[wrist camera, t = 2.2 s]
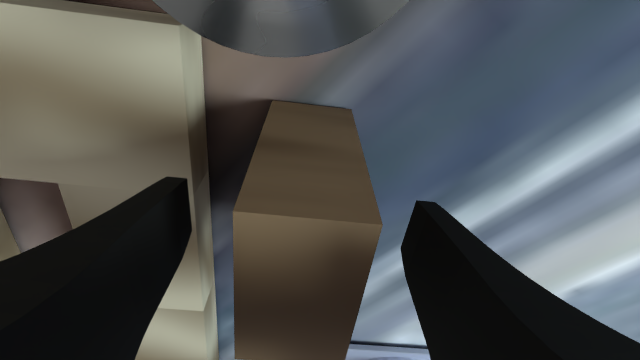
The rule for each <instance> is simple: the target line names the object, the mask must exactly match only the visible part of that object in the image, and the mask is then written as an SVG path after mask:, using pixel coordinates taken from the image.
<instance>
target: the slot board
mask: <svg viewBox="0 0 640 360" xmlns="http://www.w3.org/2000/svg"><path fill="white" fill-rule="evenodd" d="M167 176H168V177H179V178H187V181H188V192H189V202H190V213H191V223H192V232H191V235H190V239H189V242H188V245H187V248H186V250H185V253H184V256H183V259H182V261H181V263H180V265H179V267H178V269H177V271H176V273H175V275H174V277H173V279H172V281H171V283H170V285H169V287H168V289H167V291H166V293H165V295H164V297H163V299H162V301H161V302H160V304H159V306H158V308H157V310H156V312H155V314H154V316H153V318H152V320H151V322H150V324H149V326H148V329H147V331H146V333H145V335H144V337H143V340H142V342H141V345H140V347H139V350H138V353H137V355H136V358H135V360H219V352H218V334H217V316H216V297H215V279H214V261H213V243H212V225H211V207H210V189H209V171H208V153H207V135H206V116H205V98H204V80H203V62H202V44H201V35H199V34H197V33H196V32H194V31H192V30H191V29H189V28H188V27H186V26H185V25H183V24H181V23H180V22H178V21H177V20H176V19H174V18H173V17H172V16H170V15H169V14H163V13H156V12H148V11H141V10H133V9H125V8H118V7H110V6H103V5H95V4H87V3H80V2H72V1H65V0H0V178H8V179H18V180H29V181H40V182H50V183H58V186H59V189H60V192H61V195H62V198H63V201H64V204H65V207H66V210H67V213H68V216H69V219H70V222H71V225H72V229H75V228H77V227H79V226H81V225H82V224H84V223H86V222H88V221H90V220H92V219H94V218H95V217H97V216H99V215H101V214H103V213H105V212H107V211H108V210H110V209H112V208H114V207H115V206H117V205H119V204H120V203H122V202H124V201H125V200H127V199H129V198H131V197H132V196H134V195H136V194H137V193H139V192H141V191H142V190H144V189H145V188H147V187H149V186H150V185H152V184H154V183H156V182H157V181H159V180H161V179H163V178H165V177H167ZM18 254H20V250H19V248H18V246H17V244H16V241H15V239H14V237H13V235H12V233H11V230H10V228H9V226H8V224H7V222H6V219H5V217H4V215H3V213H2V210H1V208H0V261H2V260H5V259H8V258H10V257H13V256H15V255H18Z"/></svg>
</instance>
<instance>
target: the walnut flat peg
mask: <svg viewBox="0 0 640 360" xmlns="http://www.w3.org/2000/svg"><path fill="white" fill-rule="evenodd" d="M382 225H383V224H382V221H381V217H380V213H379V210H378V206H377V202H376V199H375V195H374V191H373V188H372V184H371V180H370V177H369V173H368V169H367V166H366V162H365V158H364V154H363V151H362V147H361V143H360V140H359V136H358V132H357V129H356V125H355V121H354V118H353V114H352V110H351V109H343V108H335V107H326V106H318V105H309V104H300V103H292V102H283V101H275V100H272V103H271V106H270V108H269V111H268V114H267V117H266V120H265V123H264V125H263V128H262V131H261V134H260V137H259V139H258V142H257V145H256V148H255V151H254V153H253V156H252V159H251V162H250V165H249V167H248V170H247V173H246V176H245V179H244V181H243V184H242V187H241V190H240V193H239V196H238V198H237V201H236V204H235V207H234V210H233V259H234V338H235V359H244V360H345V359H346V355H347V351H348V348H349V344H350V341H351V337H352V333H353V330H354V326H355V323H356V319H357V315H358V312H359V308H360V305H361V301H362V297H363V294H364V290H365V287H366V283H367V279H368V276H369V272H370V269H371V265H372V261H373V258H374V254H375V251H376V247H377V243H378V240H379V236H380V233H381V229H382Z"/></svg>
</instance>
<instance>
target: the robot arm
mask: <svg viewBox="0 0 640 360" xmlns="http://www.w3.org/2000/svg"><path fill="white" fill-rule="evenodd" d="M191 232H192V223H191V213H190V202H189V192H188V181H187V178H179V177H168V176H167V177H165V178H163V179H161V180H159V181H157V182H156V183H154V184H152V185H150V186H149V187H147V188H145V189H144V190H142V191H141V192H139V193H137V194H136V195H134V196H132V197H131V198H129V199H127V200H125V201H124V202H122V203H120V204H119V205H117V206H115V207H114V208H112V209H110V210H108V211H107V212H105V213H103V214H101V215H99V216H97V217H95V218H94V219H92V220H90V221H88V222H86V223H84V224H82V225H81V226H79V227H77V228H75V229H73V230H71V231H69V232H67V233H65V234H63V235H61V236H59V237H57V238H54V239H52V240H50V241H48V242H46V243H43V244H41V245H39V246H37V247H34V248H32V249H30V250H28V251H25V252H23V253H20V254H18V255H15V256H13V257H10V258H8V259H5V260H2V261H0V360H135V358H136V355H137V353H138V350H139V347H140V345H141V342H142V340H143V337H144V335H145V333H146V331H147V329H148V326H149V324H150V322H151V320H152V318H153V316H154V314H155V312H156V310H157V308H158V306H159V304H160V302H161V301H162V299H163V297H164V295H165V293H166V291H167V289H168V287H169V285H170V283H171V281H172V279H173V277H174V275H175V273H176V271H177V269H178V267H179V265H180V263H181V261H182V259H183V256H184V253H185V250H186V248H187V245H188V242H189V239H190V235H191ZM401 254H402V260H403V266H404V272H405V277H406V280H407V283H408V287H409V290H410V293H411V296H412V300H413V303H414V306H415V309H416V312H417V315H418V318H419V321H420V325H421V328H422V331H423V334H424V337H425V340H426V344H427V347H428V349H419V348H404V347H389V346H373V345H358V344H349V348H348V351H347V355H346V359H345V360H640V343H638V342H636V341H634V340H632V339H630V338H628V337H627V336H625V335H623V334H621V333H619V332H617V331H615V330H613V329H612V328H610V327H608V326H606V325H604V324H602V323H601V322H599V321H597V320H595V319H594V318H592V317H590V316H588V315H587V314H585V313H583V312H582V311H580V310H578V309H577V308H575V307H573V306H571V305H570V304H568V303H566V302H565V301H563V300H562V299H560V298H558V297H557V296H555V295H554V294H552V293H551V292H549V291H548V290H546V289H545V288H543V287H542V286H540V285H539V284H537V283H536V282H534V281H533V280H531V279H530V278H528V277H527V276H526V275H524V274H523V273H521V272H520V271H519V270H517V269H516V268H515V267H513V266H512V265H511V264H509V263H508V262H507V261H505V260H504V259H503V258H502V257H500V256H499V255H498V254H496V253H495V252H494V251H493V250H491V249H490V248H489V247H488V246H487V245H485V244H484V243H483V242H482V241H481V240H479V239H478V238H477V237H476V236H475V235H473V234H472V233H471V232H470V231H469V230H468V229H466V228H465V227H464V226H463V225H462V224H461V223H460V222H458V221H457V220H456V219H455V218H454V217H453V216H451V215H450V214H449V213H448V212H447V211H446V210H444V209H443V208H442V207H441V206H439V205H438V204H437V203H435V202H427V201H417V200H416V203H415V206H414V209H413V212H412V215H411V218H410V221H409V224H408V227H407V230H406V233H405V236H404V239H403V242H402V245H401Z"/></svg>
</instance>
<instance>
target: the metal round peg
mask: <svg viewBox="0 0 640 360" xmlns="http://www.w3.org/2000/svg"><path fill="white" fill-rule="evenodd" d="M153 1H154V2H155V3H156V4H157V5H158V6H159V7H160V8H162V9H163V10H164V11H165V12H167V13H168V14H169V15H170V16H172V17H173V18H174V19H176V20H177V21H178V22H180V23H181V24H183V25H185V26H186V27H188V28H189V29H191V30H192V31H194V32H196V33H197V34H199V35H201V36H203V37H205V38H207V39H209V40H211V41H214V42H216V43H218V44H220V45H223V46H226V47H229V48H232V49H235V50H238V51H241V52H245V53H250V54H255V55H260V56H268V57H298V56H309V55H313V54H318V53H322V52H327V51H330V50H333V49H336V48H338V47H341V46H344V45H346V44H349V43H351V42H353V41H355V40H357V39H359V38H361V37H362V36H364V35H366V34H368V33H370V32H371V31H373V30H374V29H376V28H377V27H378V26H380V25H381V24H383V23H384V22H386V21H387V20H388V19H390V18H391V17H392V16H393V15H394V14H395V13H396V12H397V11H399V10H400V9H401V8H402V7H403V6H404V5H405V4H406V3H407V2H409V0H153Z"/></svg>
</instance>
